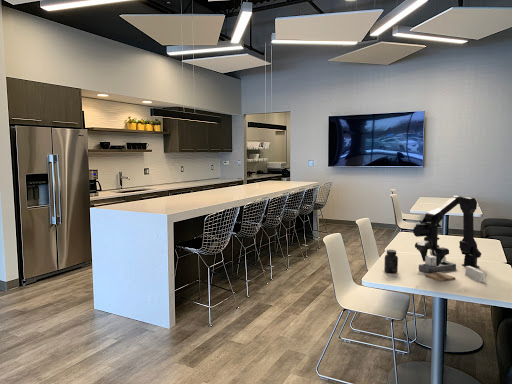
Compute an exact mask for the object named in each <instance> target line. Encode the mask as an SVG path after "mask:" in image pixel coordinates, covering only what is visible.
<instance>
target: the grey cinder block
mask: <svg viewBox="0 0 512 384" xmlns="http://www.w3.org/2000/svg"><path fill="white" fill-rule="evenodd" d="M455 270H457V263H453V262H450V261H447V260H445V261H443V262H440V264H439V266H437V265H436V266H435V267H429V266H426V265H425V263H421V264H418V271H420V272H423V273H425V274H430V273H436V272H441V273H444V272H448V271H455Z"/></svg>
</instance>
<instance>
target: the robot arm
mask: <svg viewBox="0 0 512 384" xmlns="http://www.w3.org/2000/svg"><path fill="white" fill-rule="evenodd" d="M458 205H459V208H460V210H461V212H462V216H463V217H462V218H463V223H462V225H463V226H462V227H463V229H462V230H463V238H462V239H461V240H460V241H458V242H459V247H458V248H459V251H461V252H460V253H461V254H462V255H464V257H463V263H461V266H463V267H466V266H471V267H474V268H476V269H477V268H480V265H478V258H481V256H482V252H481V251H480V250H479V248H478V243H477V241H476V240H475V238H474V234H475V233H474V213H475V211H476V210H477V206H478V201H477V199H476V198H474V197H468V196H461V195H452V196H451V197H450V198H449V199H447V200H446V201H445V202H444V203H442V204H441V205H440V206H439V207H438V208H436V209H431V210H429V211H428V212H426V213H425V215H424V217H423V219H422V220H421V222H420V223H415V224H416V225H415V226H414V228H413V229H412V232H413V233H412V234H413V236H415V237H417V238H419V237H420V238H421V237H423V240H421V241H418V242H415V243H414V248H415V249H416V250H417V251H419V253H420V256H421V259H422V262H424V263H425V256H428V250H429V251H430V250H433V251H435V253H436V254H435V255H436V265H437V266H439V264H440V262H441V261H442V259H443V258H444V256H445V257H446V256H447V255H450V250H449V248H446V247H440V245H439V244H438V241H439V240H440V237H439V235H438V234H439V228H442V225H441V224H440V222H442V221H443V218H444V216H445V215H446V214H448V213H449V212H450V211H452V209H454V208H455V207H456V206H458ZM437 247H440V248H437Z"/></svg>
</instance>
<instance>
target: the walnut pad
mask: <svg viewBox="0 0 512 384" xmlns="http://www.w3.org/2000/svg"><path fill="white" fill-rule="evenodd" d="M424 276H425V277H427V278H430V279H432V280H435V281H437V282H440V283H441V282H448V281H455V280H456V277H455V276H452V275H451V274H450V275H449V274H446V273H444V272H436V273H429V274H428V273H425V274H424Z"/></svg>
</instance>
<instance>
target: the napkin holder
mask: <svg viewBox="0 0 512 384" xmlns="http://www.w3.org/2000/svg"><path fill="white" fill-rule="evenodd" d="M464 269H465V270H464V273H465V274H464V275H465V277H466V276H467V277H469V278H471V279H472V280H474V281H476V282H479V283H484V282H485V272H484V271H482V270H480V269H479V268H477V267H476V268H474V267H471V266H465V268H464Z"/></svg>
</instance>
